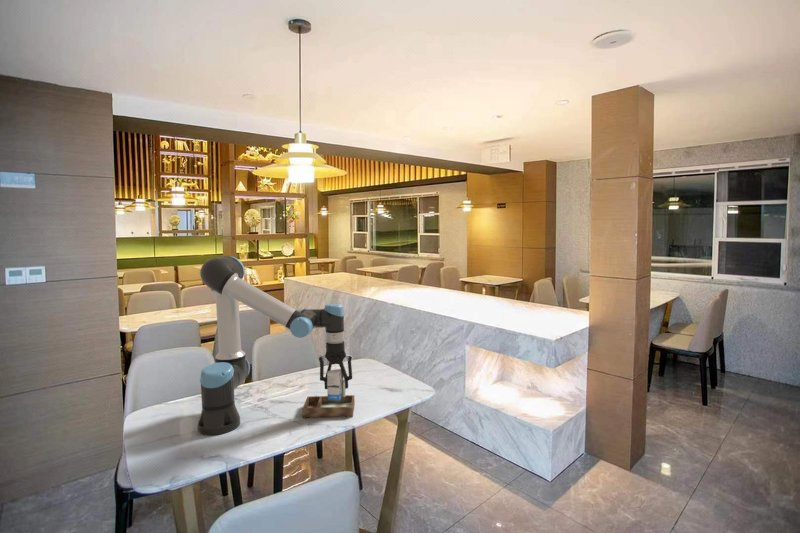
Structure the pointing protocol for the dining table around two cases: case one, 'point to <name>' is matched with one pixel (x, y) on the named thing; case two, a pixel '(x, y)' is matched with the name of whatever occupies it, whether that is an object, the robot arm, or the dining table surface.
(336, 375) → the ink box
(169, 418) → the dining table surface
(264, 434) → the dining table surface
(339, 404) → the organiser
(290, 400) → the dining table surface
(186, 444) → the dining table surface
